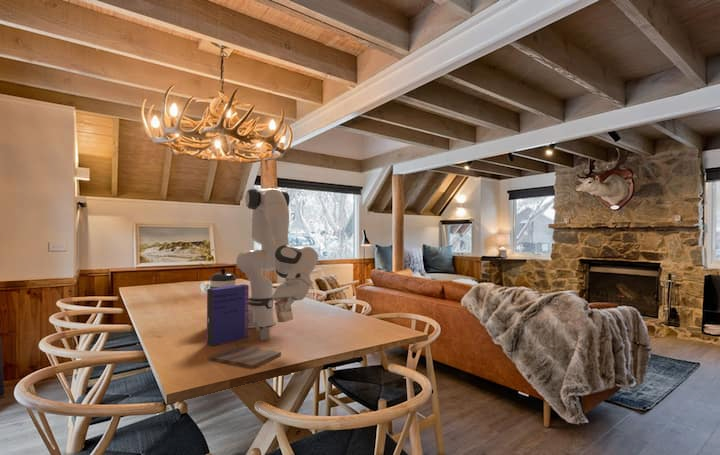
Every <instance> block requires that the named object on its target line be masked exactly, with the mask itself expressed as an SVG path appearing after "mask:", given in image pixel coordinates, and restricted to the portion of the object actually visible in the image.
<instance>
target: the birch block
mask: <svg viewBox="0 0 720 455" xmlns="http://www.w3.org/2000/svg"><path fill="white" fill-rule="evenodd" d="M287 301H288V300H283V301H279V302H276V301H274V302H273V305H274V310H275V313H276V321H277V323H286V322H288V321H289V322H290V321H292V320H294V316H293V311H292V310H293V309H292V304H291V305H290V306H289V308H288V310H285V309H283V306H284V304H286V302H287Z"/></svg>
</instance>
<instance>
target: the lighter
mask: <svg viewBox="0 0 720 455" xmlns="http://www.w3.org/2000/svg"><path fill="white" fill-rule="evenodd" d="M253 324H254V326H255V330H256V331H257V332H259V340H260V341H264V340H270V336H271V335H270V334H271V333H270V328H269V327H268V326H266V327H262V328H261V327H259V326H258V324H257V322H254V323H253Z"/></svg>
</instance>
